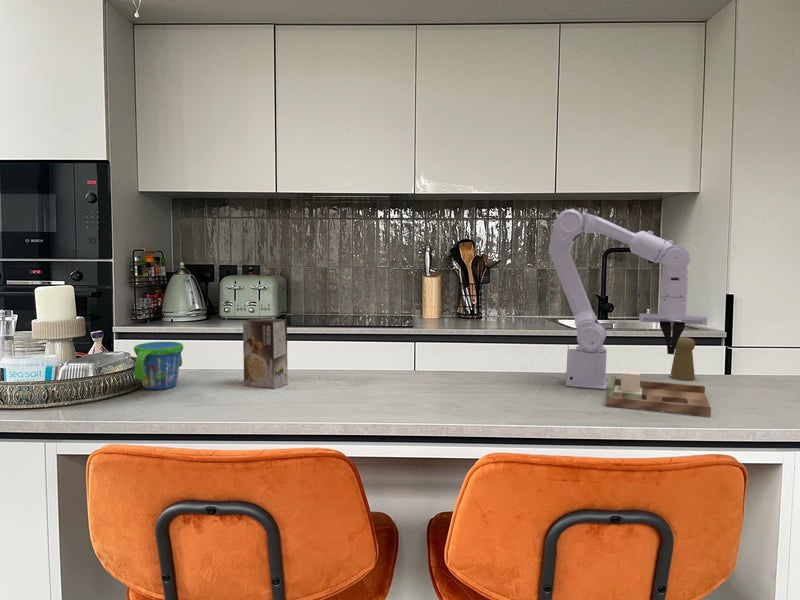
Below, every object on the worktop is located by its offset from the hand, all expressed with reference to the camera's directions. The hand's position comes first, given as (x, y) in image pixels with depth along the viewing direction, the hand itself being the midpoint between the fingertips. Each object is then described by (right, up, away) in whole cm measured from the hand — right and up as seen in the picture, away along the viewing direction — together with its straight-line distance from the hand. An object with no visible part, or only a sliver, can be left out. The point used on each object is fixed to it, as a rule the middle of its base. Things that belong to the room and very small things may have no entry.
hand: (670, 353), depth 139 cm
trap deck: (-8, -10, -10) cm, 16 cm away
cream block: (-12, -8, -5) cm, 15 cm away
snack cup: (-122, -8, 0) cm, 122 cm away
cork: (+11, -8, +18) cm, 23 cm away
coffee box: (-97, -8, +4) cm, 98 cm away
